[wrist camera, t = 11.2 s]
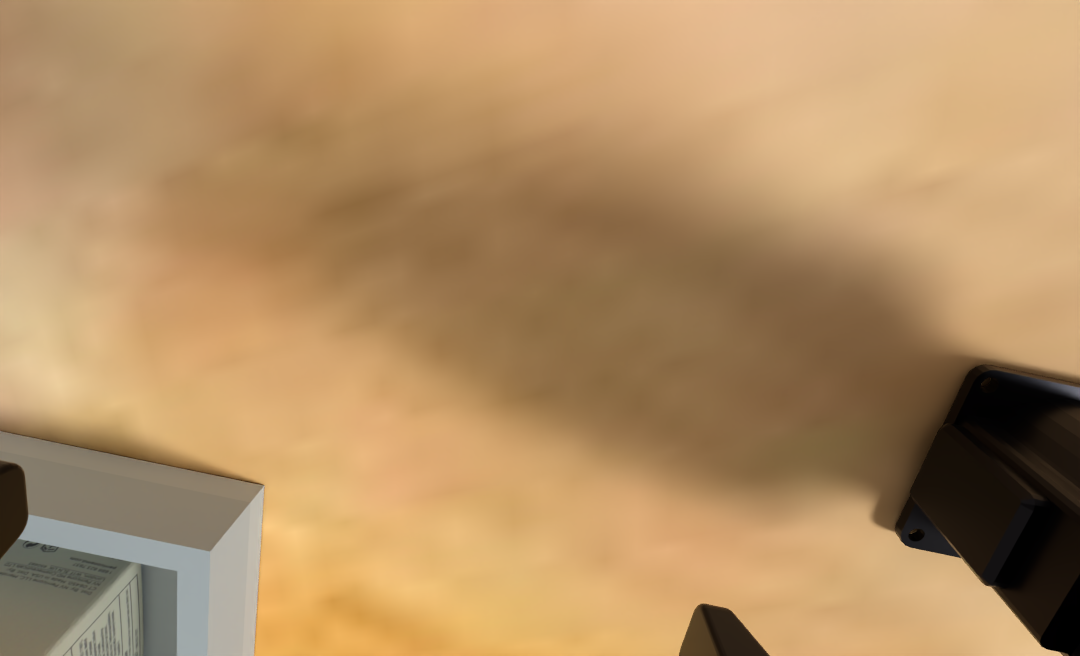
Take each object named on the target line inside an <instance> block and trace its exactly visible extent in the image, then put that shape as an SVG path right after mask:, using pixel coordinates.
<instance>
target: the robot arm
mask: <svg viewBox="0 0 1080 656" xmlns="http://www.w3.org/2000/svg"><path fill="white" fill-rule="evenodd" d="M987 378H991V381H990V383H989V384H988V385H987V386H985V387H981V384H982V382H983V381H984V380H985V379H987ZM28 515H29V513H28V502H27V491H26V480H25V473H24V470H23V469H22V467H21V466H20V465H18V464H16V463H12V462H7V461H3V460H0V559H1V558H2V557H3V556H4V555H5V553H6V552H7V551H8V550H9V549H10V548H11V546H12V545H13V544H14V543H15V542H16V540H17V539H18V538H19V537H20V535H21V534H22V532H23V531H24V529H25V527H26V524H27V521H28ZM914 529H918V530H917V531H916V532H914V533H912V534H909V533H910V532H911V530H914ZM895 531H896V534H897V536H898V537H899V538H900V540H901V541H902V542H903V543H904V544H905V545H906V546H908V547H911V548H916V549H921V550H926V551H930V552H935V553H940V554H945V555H950V556H955V557H959V558H962V559H963V560H964V562H965V563H966V564H967V565H968V566H969V568H970V569H971V570H972V571H973V572H974V574H975V575H976V576H977V577H978V579H979V580H980V581H981V582H982V583H983V584H985V585H986V586H990V587H992V588H993V589H994V591H995V592H996V593H997V594H998V595H999V596H1000V598H1001V599H1002V600H1003V601H1004V602H1005V604H1006V605H1007V606H1008V607H1009V608H1010V609H1011V611H1012V612H1013V613H1014V614H1015V615H1016V617H1017V618H1018V619H1019V620H1020V621H1021V623H1022V624H1023V625H1024V626H1025V627H1026V628H1027V630H1028V631H1029V632H1030V633H1031V634H1032V636H1033V637H1034V638H1035V639H1036V640H1037V641H1038V643H1039V644H1040V645H1041V646H1042V647H1044V648H1046V649H1048V650H1053V651H1058V652H1060V653H1061V654H1062V655H1063V656H1080V384H1077V383H1072V382H1067V381H1062V380H1058V379H1053V378H1048V377H1043V376H1039V375H1034V374H1029V373H1025V372H1020V371H1015V370H1010V369H1006V368H1001V367H996V366H991V365H980V366H977V367H975V368H974V369H972V370H971V371H970V372H969V373H968V374H967V376H966V378H965V380H964V382H963V384H962V386H961V388H960V390H959V392H958V394H957V397H956V399H955V401H954V403H953V405H952V407H951V409H950V411H949V413H948V416H947V418H946V420H945V422H944V424H943V426H942V427H941V428H940V429H939V431H938V433H937V435H936V438H935V440H934V442H933V444H932V446H931V448H930V450H929V452H928V454H927V457H926V459H925V461H924V463H923V465H922V467H921V469H920V471H919V474H918V476H917V478H916V480H915V482H914V484H913V486H912V488H911V491H910V496H909V498H908V500H907V502H906V504H905V506H904V509H903V511H902V513H901V515H900V517H899V519H898V521H897V523H896V527H895ZM679 656H769V654H768V653H767V652H766V651H765V650H764V649H763V647H762V646H761V645H760V644H759V643H758V641H757V640H756V639H755V638H754V637H753V636H752V634H751V633H750V632H749V631H748V630H747V629H746V627H745V626H744V625H743V624H742V623H741V621H740V620H739V619H738V618H737V617H736V616H735V614H734V613H733V612H732V611H730V610H729V609H727V608H723V607H718V606H713V605H709V604H700V605H698V606H697V607H696V609H695V610H694V613H693V615H692V618H691V621H690V624H689V627H688V629H687V632H686V635H685V638H684V640H683V643H682V646H681V649H680V653H679Z"/></svg>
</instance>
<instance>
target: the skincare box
mask: <svg viewBox="0 0 1080 656" xmlns="http://www.w3.org/2000/svg"><path fill="white" fill-rule="evenodd" d="M143 652H144V638H143V594H142V576H141V564H139V563H134V562H130V561H125V560H120V559H115V558H110V557H105V556H100V555H95V554H90V553H86V552H81V551H76V550H71V549H66V548H61V547H56V546H51V545H46V544H41V543H37V542H32V541H27V540H22V539H17V540H16V542H15V543H14V544H13V545H12V546H11V548H10V549H9V550H8V551H7V552H6V553H5V555H4V556H3V557H2V558H1V559H0V656H143Z"/></svg>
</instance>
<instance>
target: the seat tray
mask: <svg viewBox="0 0 1080 656" xmlns="http://www.w3.org/2000/svg"><path fill="white" fill-rule="evenodd" d="M0 460H3V461H7V462H12V463H16V464H18V465H20V466H21V467H22V469H23V470H24V473H25V480H26V491H27V502H28V513H29V515H28V521H27V524H26V527H25V529H24V531H23V532H22V534H21V535H20V537H19V538H18V539H22V540H27V541H32V542H37V543H41V544H46V545H51V546H56V547H61V548H66V549H71V550H76V551H81V552H86V553H90V554H95V555H100V556H105V557H110V558H115V559H120V560H125V561H130V562H134V563H139V564H141V576H142V594H143V638H144V652H143V656H254V646H255V630H256V613H257V597H258V581H259V565H260V548H261V532H262V516H263V500H264V485H259V484H254V483H249V482H244V481H240V480H235V479H230V478H225V477H220V476H215V475H211V474H206V473H201V472H196V471H191V470H186V469H181V468H177V467H172V466H167V465H162V464H157V463H152V462H147V461H143V460H138V459H133V458H128V457H123V456H118V455H114V454H109V453H104V452H99V451H94V450H89V449H84V448H80V447H75V446H70V445H65V444H60V443H55V442H50V441H46V440H41V439H36V438H31V437H26V436H21V435H17V434H12V433H7V432H2V431H0Z"/></svg>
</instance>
